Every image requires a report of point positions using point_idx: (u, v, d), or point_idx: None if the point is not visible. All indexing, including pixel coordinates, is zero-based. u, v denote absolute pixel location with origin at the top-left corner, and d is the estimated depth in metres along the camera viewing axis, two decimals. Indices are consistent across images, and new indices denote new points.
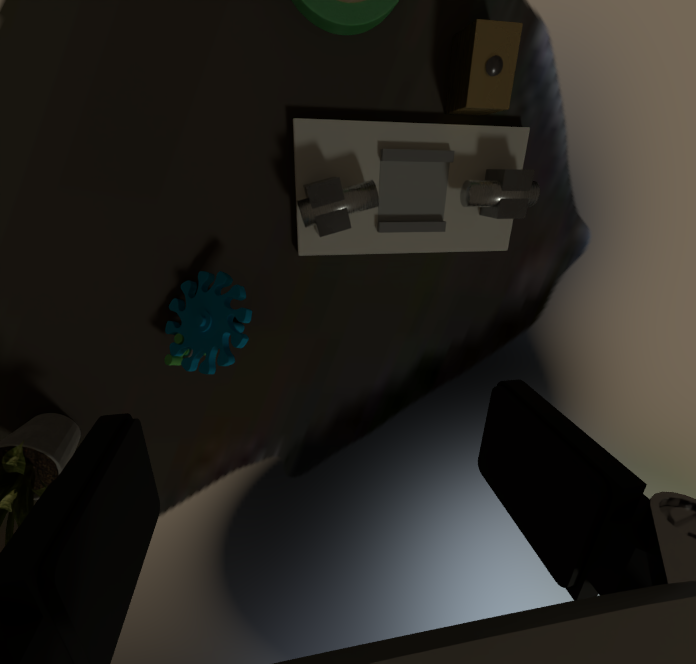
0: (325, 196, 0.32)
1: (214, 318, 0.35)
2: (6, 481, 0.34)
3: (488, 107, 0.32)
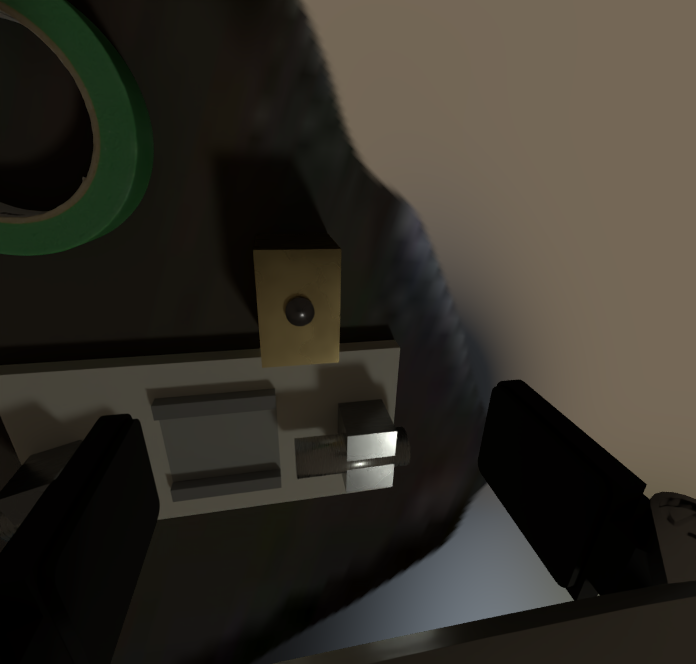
0: None
1: None
2: None
3: (303, 363, 0.19)
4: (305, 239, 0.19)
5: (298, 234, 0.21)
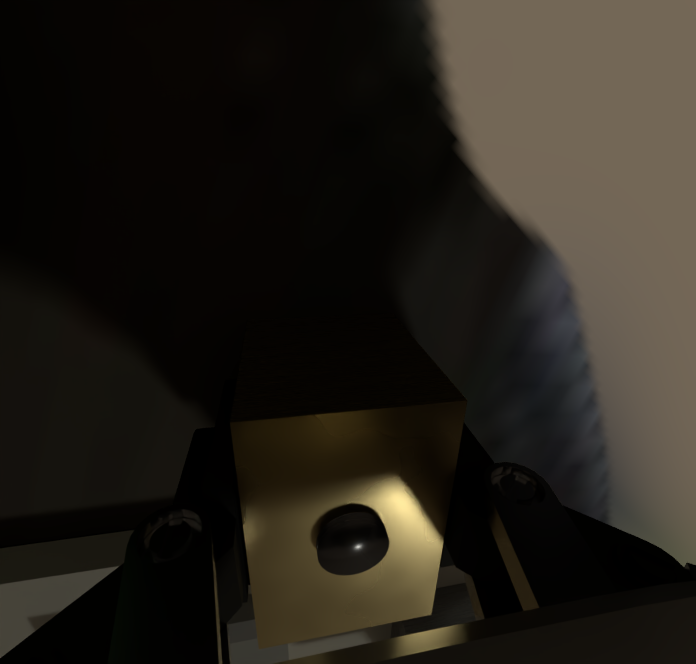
0: None
1: None
2: None
3: (352, 625, 0.09)
4: (356, 344, 0.09)
5: (335, 320, 0.10)
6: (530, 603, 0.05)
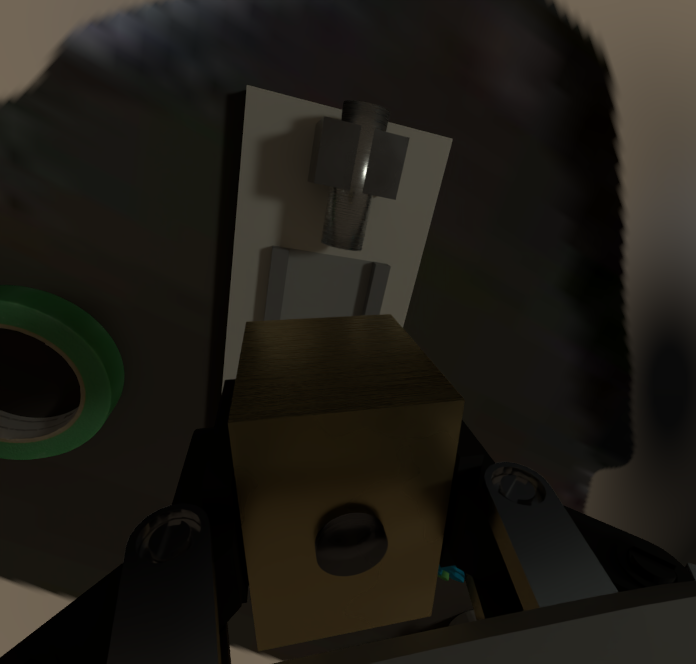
0: None
1: None
2: None
3: (352, 627, 0.09)
4: (355, 344, 0.09)
5: (334, 322, 0.10)
6: (531, 603, 0.05)
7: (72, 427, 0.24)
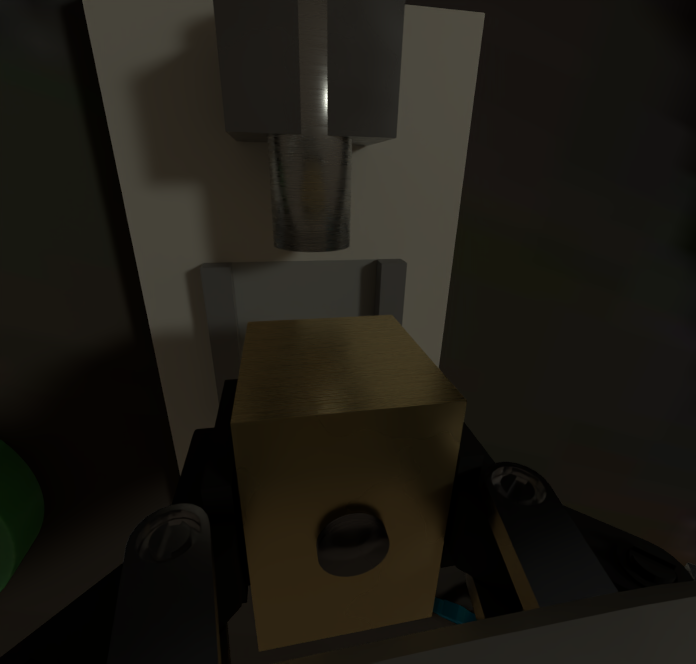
0: None
1: None
2: None
3: (353, 627, 0.09)
4: (356, 345, 0.09)
5: (335, 322, 0.10)
6: (531, 603, 0.05)
7: None
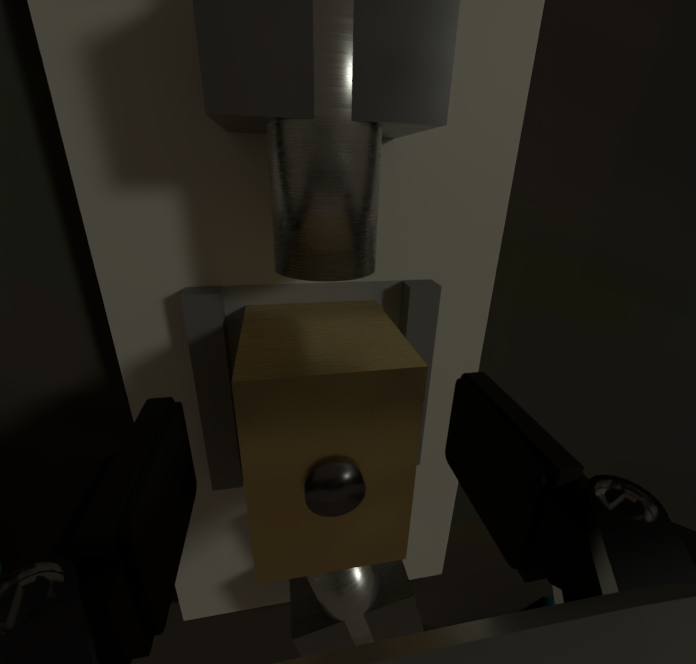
0: None
1: None
2: None
3: (337, 566, 0.10)
4: (340, 324, 0.10)
5: (324, 305, 0.11)
6: None
7: None
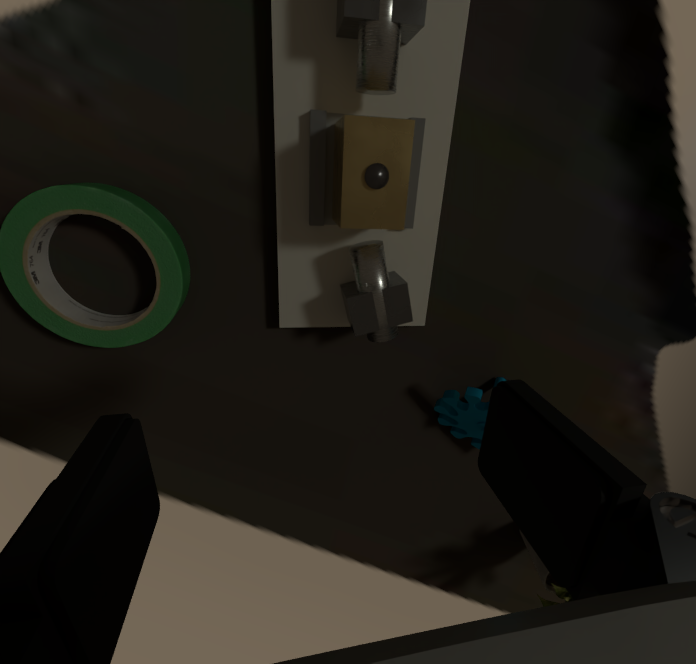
0: (367, 314, 0.26)
1: None
2: None
3: (374, 227, 0.23)
4: None
5: None
6: None
7: (152, 311, 0.26)
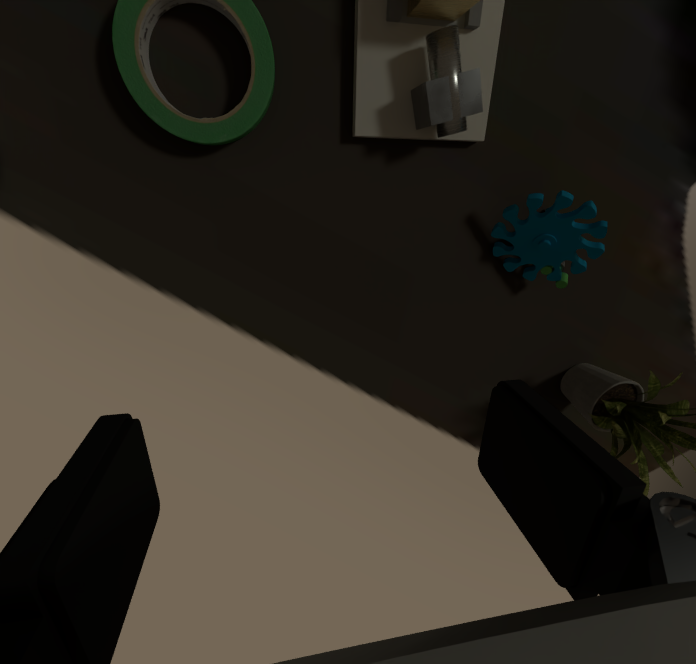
0: (443, 101, 0.29)
1: (549, 231, 0.35)
2: (622, 416, 0.43)
3: None
4: None
5: None
6: None
7: (246, 104, 0.29)
